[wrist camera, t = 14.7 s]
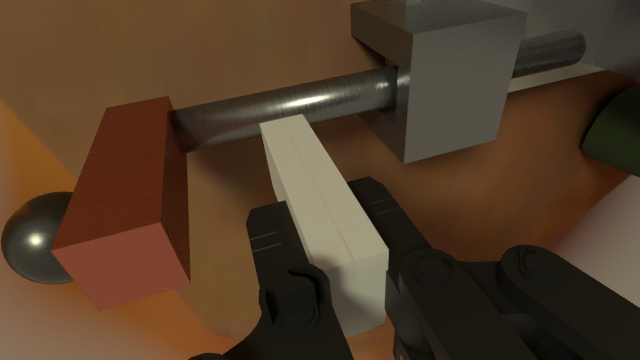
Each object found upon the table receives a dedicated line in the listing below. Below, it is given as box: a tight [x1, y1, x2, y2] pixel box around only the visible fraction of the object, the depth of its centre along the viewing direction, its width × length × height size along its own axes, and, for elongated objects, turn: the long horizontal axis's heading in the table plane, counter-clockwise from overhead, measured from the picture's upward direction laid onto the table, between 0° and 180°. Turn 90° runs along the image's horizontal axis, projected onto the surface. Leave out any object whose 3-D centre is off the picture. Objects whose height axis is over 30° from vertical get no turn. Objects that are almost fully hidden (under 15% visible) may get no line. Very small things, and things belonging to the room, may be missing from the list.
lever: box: [1, 29, 586, 311], centre depth 14 cm, size 3×24×8 cm, turn 95°
